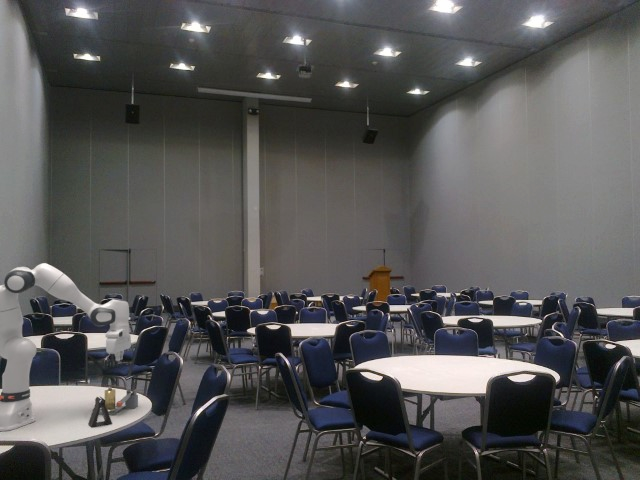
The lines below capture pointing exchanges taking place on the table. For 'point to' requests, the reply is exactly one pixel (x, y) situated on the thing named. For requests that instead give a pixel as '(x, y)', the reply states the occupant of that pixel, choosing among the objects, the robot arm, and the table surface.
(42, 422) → the table surface
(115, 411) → the press bed
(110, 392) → the gold upright cylinder
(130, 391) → the press lever
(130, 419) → the table surface
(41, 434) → the table surface
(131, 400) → the lever post
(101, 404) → the black triangular frame
